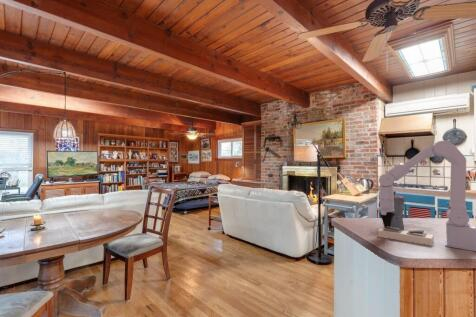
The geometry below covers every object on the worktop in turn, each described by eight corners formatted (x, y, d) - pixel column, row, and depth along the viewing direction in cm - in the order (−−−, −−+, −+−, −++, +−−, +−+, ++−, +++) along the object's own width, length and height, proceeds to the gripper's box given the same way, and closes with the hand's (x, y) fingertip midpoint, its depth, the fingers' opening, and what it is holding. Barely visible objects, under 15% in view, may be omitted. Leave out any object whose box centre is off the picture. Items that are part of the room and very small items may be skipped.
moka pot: (398, 232, 119) (396, 192, 120) (374, 225, 134) (373, 190, 135) (413, 231, 121) (412, 192, 122) (388, 224, 136) (387, 189, 137)
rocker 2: (423, 231, 105) (423, 229, 105) (423, 233, 103) (422, 231, 103) (410, 231, 108) (410, 229, 108) (409, 233, 106) (409, 231, 106)
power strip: (433, 241, 104) (433, 234, 104) (432, 245, 99) (431, 237, 99) (381, 233, 118) (381, 226, 118) (377, 236, 113) (377, 229, 113)
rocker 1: (399, 229, 111) (399, 228, 111) (398, 231, 109) (398, 229, 109) (387, 226, 115) (387, 225, 115) (386, 227, 112) (386, 226, 112)
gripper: (381, 197, 122) (381, 223, 121) (373, 200, 111) (373, 229, 111) (397, 198, 117) (398, 226, 116) (390, 201, 106) (391, 232, 106)
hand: (387, 227), depth 113 cm, fingers closed, pressing on rocker 1
